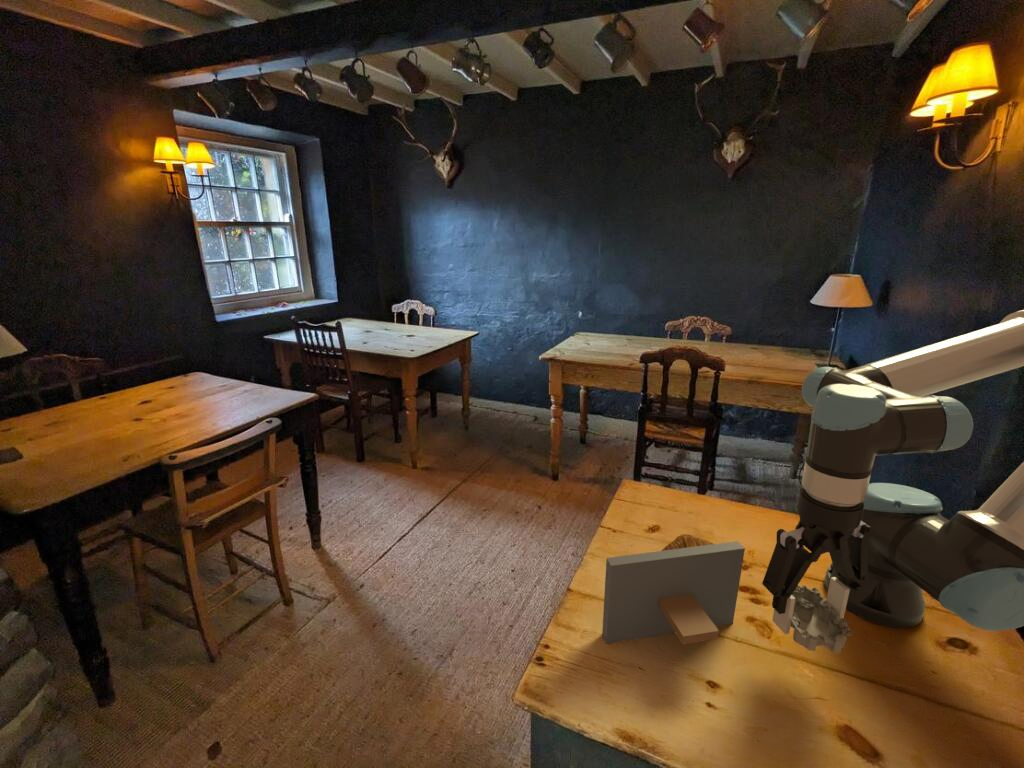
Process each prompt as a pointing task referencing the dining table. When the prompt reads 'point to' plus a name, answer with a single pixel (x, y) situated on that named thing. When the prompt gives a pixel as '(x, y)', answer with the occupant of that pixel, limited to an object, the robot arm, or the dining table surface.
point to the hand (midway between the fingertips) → (807, 621)
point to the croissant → (686, 542)
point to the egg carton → (817, 621)
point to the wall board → (672, 593)
